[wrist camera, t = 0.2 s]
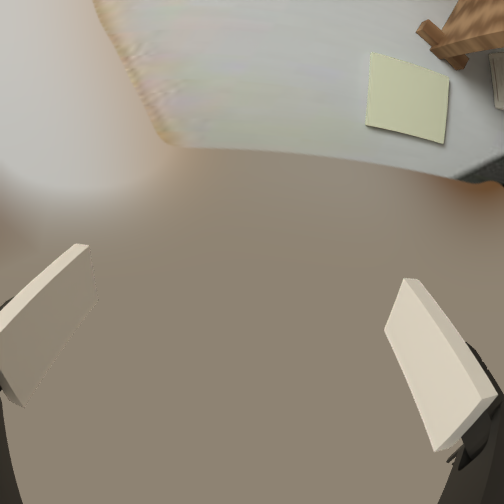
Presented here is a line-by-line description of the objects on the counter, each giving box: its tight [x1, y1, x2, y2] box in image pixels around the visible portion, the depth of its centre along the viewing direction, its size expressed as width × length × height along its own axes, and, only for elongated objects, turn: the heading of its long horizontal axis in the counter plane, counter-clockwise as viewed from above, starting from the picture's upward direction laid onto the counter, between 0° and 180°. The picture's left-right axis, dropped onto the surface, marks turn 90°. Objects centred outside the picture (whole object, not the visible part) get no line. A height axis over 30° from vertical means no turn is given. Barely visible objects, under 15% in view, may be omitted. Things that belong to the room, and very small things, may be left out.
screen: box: [416, 0, 504, 70], centre depth 15 cm, size 18×8×22 cm, turn 149°
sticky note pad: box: [365, 52, 449, 144], centre depth 31 cm, size 10×12×1 cm
